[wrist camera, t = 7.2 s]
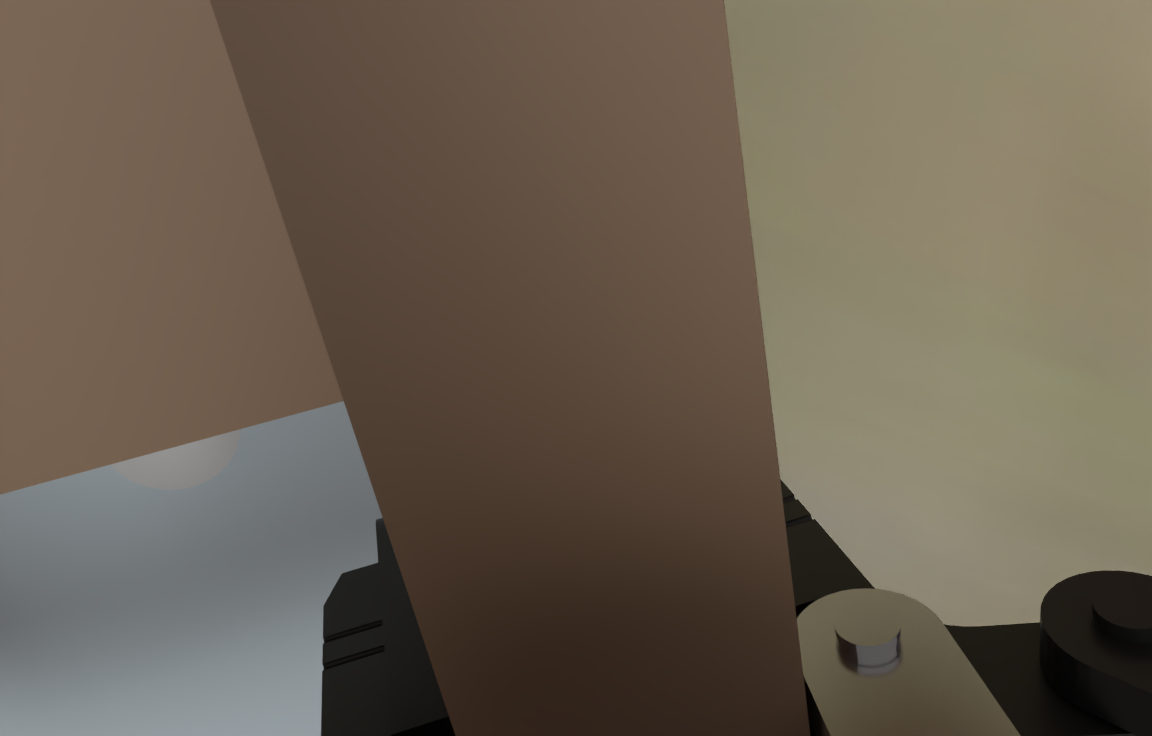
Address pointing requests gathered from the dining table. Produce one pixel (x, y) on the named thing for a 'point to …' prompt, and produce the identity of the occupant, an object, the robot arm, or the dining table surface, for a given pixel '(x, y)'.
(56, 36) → the frame
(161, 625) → the peg board
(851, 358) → the dining table surface
